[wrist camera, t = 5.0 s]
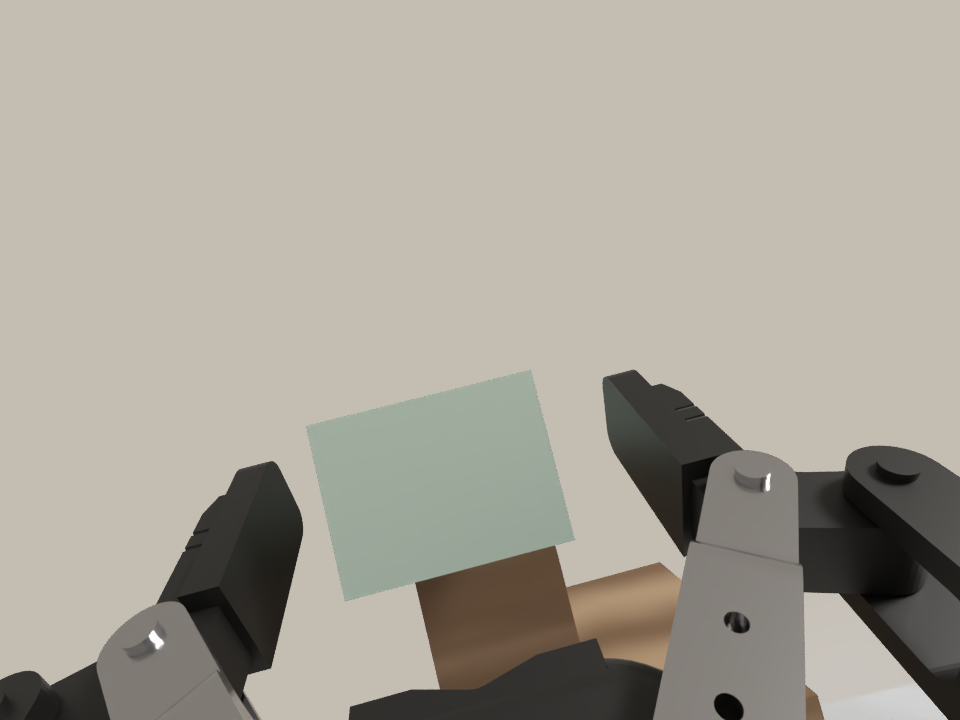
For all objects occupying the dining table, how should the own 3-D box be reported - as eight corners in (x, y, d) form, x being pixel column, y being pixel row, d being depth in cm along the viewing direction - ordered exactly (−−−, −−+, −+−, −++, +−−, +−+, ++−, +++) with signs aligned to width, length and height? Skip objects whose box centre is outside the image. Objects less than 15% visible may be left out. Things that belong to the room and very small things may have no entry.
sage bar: (574, 539, 8) (530, 369, 9) (345, 601, 8) (305, 425, 8) (495, 436, 32) (484, 392, 33) (436, 451, 32) (425, 406, 32)
